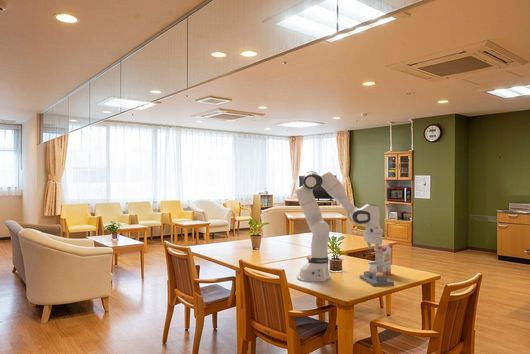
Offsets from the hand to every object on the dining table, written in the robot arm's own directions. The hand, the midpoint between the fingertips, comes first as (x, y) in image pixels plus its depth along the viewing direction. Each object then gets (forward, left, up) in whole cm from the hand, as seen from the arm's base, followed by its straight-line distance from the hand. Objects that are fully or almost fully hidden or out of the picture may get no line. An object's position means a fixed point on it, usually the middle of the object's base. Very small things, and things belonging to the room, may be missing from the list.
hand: (372, 249), depth 257 cm
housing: (0, -5, -20) cm, 20 cm away
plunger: (0, -10, -17) cm, 20 cm away
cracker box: (+13, +11, -20) cm, 26 cm away
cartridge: (0, 0, -18) cm, 18 cm away
